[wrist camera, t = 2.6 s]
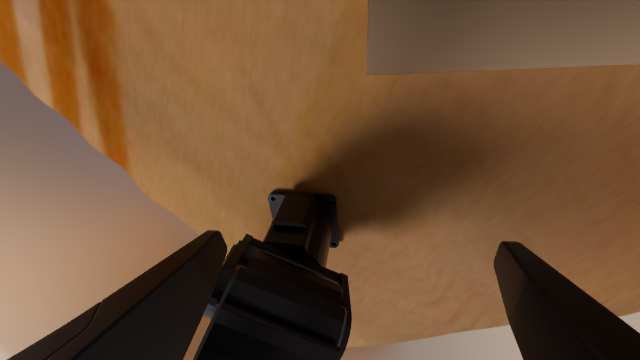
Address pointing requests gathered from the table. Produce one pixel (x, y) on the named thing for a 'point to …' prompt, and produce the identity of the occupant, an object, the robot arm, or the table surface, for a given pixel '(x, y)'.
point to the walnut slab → (499, 34)
